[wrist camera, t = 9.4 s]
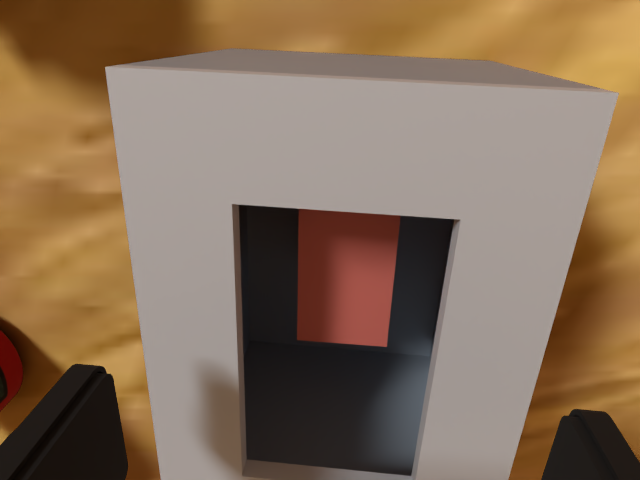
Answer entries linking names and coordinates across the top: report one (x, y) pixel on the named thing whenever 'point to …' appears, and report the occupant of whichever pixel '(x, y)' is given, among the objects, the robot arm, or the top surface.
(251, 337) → the grey box
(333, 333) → the block
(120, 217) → the top surface
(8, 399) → the beverage can
